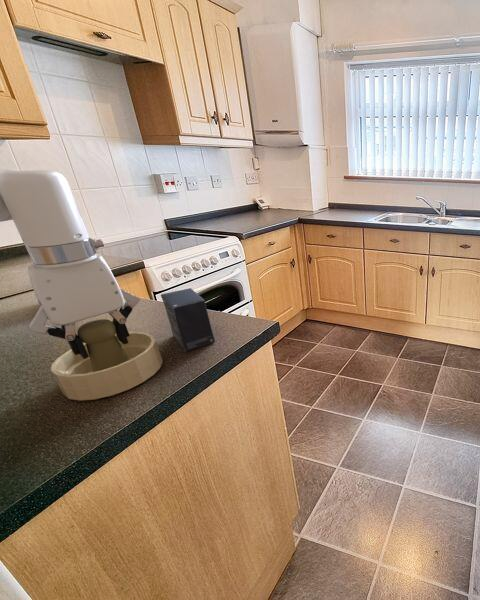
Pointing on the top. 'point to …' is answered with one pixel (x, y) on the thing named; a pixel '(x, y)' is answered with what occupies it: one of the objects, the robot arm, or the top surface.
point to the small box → (188, 318)
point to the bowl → (107, 370)
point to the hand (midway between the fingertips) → (104, 347)
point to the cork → (102, 344)
